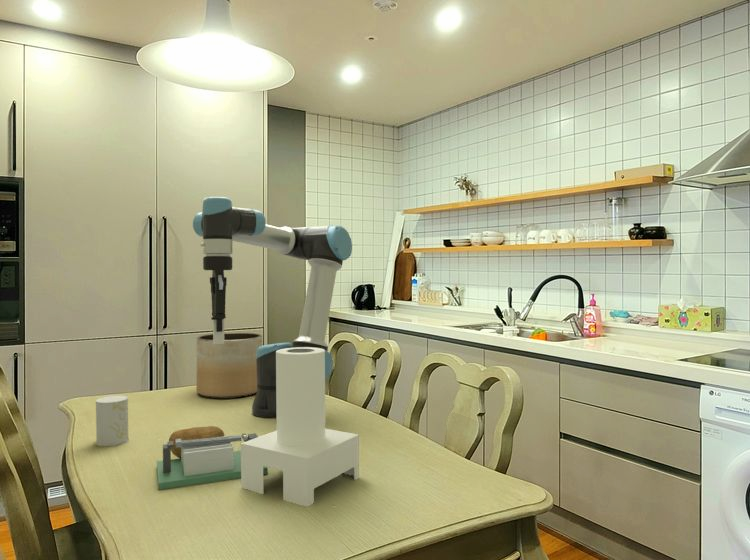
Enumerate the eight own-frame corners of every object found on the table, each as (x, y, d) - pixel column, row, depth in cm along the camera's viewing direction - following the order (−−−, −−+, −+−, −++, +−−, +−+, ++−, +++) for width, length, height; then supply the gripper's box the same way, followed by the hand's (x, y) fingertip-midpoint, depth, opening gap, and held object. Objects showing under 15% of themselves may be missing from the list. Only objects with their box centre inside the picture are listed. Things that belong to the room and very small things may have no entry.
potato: (230, 457, 142) (230, 426, 142) (174, 469, 134) (174, 436, 134) (217, 448, 150) (217, 418, 150) (163, 458, 142) (163, 427, 142)
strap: (246, 438, 138) (246, 432, 138) (248, 441, 135) (248, 435, 135) (175, 444, 132) (175, 438, 132) (176, 448, 129) (176, 442, 129)
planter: (184, 398, 208) (183, 339, 208) (214, 384, 233) (214, 332, 233) (248, 401, 204) (248, 340, 203) (272, 386, 229) (272, 332, 228)
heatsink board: (255, 454, 145) (255, 424, 145) (267, 473, 131) (267, 440, 131) (157, 467, 136) (156, 435, 136) (158, 489, 122) (158, 454, 122)
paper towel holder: (307, 507, 113) (306, 360, 112) (241, 488, 123) (239, 352, 122) (359, 477, 129) (358, 348, 128) (296, 462, 139) (295, 342, 138)
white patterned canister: (116, 446, 152) (115, 403, 152) (89, 445, 154) (89, 401, 153) (134, 438, 160) (134, 396, 160) (109, 436, 161) (108, 395, 161)
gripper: (200, 256, 153) (201, 341, 154) (205, 254, 141) (206, 347, 142) (228, 256, 156) (229, 339, 157) (235, 255, 144) (236, 345, 145)
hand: (218, 343), depth 149 cm, fingers closed
